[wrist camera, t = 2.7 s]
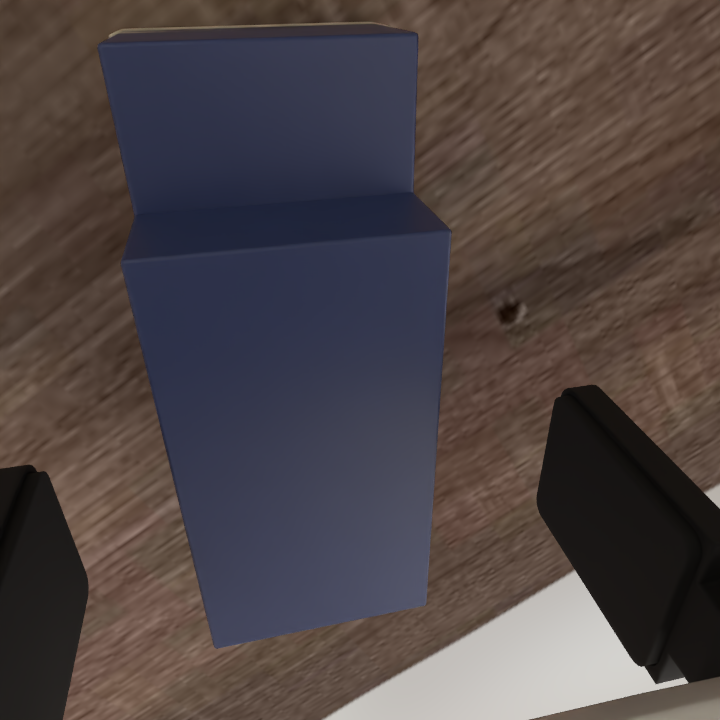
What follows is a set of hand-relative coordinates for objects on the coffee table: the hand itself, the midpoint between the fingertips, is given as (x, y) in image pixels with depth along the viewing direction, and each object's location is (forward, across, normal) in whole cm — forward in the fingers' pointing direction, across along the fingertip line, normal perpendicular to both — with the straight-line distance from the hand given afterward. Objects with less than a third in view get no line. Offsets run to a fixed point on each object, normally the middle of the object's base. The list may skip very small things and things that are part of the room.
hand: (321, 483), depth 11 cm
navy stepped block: (+6, 0, -1) cm, 6 cm away
